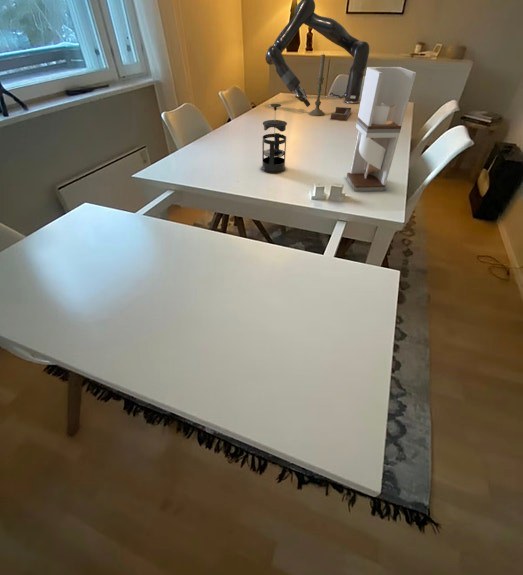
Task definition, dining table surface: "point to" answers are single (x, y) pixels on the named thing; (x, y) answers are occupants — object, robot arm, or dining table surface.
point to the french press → (274, 146)
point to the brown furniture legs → (342, 116)
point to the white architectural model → (379, 125)
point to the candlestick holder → (319, 89)
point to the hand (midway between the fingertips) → (308, 105)
